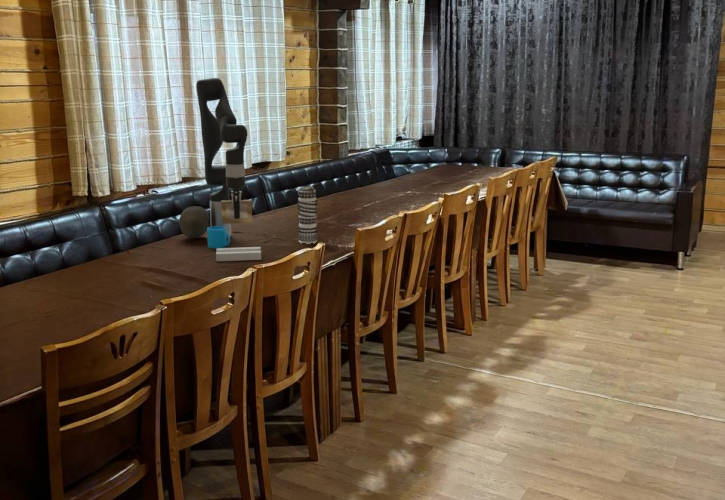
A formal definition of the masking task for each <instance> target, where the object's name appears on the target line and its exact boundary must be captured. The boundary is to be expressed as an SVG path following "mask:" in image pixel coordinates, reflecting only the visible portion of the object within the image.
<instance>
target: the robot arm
mask: <svg viewBox="0 0 725 500" xmlns="http://www.w3.org/2000/svg"><path fill="white" fill-rule="evenodd" d="M195 88H196V96H197V101H198V102H197V103H198V108H199V116H200V127H201V128H200V129H201V139H202V146H203V155H204V157H203V159H204V178H205V182H206V185H208V186H212V187H214V186H222V187H221V188H220V189H219V190H217V191H214V192H211V193H210V194H209V212H210V216H209V217H210V227H213V226H223V227H226V232H227V233H228V234H229V236H230V237H232V223H229V224H222V209H221V201H228V200H232V203H233V206H234V207H233V209H234V218H235V219H239V218H240V203H241V200H242V190H241V191H240V189H241V188H243V189H244V188H245V187H246V169H245V159H244V153H245V147H246V142H247V140H248V129H247V128H246V126H245V125H243V124H237V123H238V121H237V118H236V116H235V114H234V112H233V110H232V108H231V105H230V102H229V98H228V95H227V92H226V88H225V86H224V82H223V80H221V78H219V77H211V78H202V79H198V80H197V81H196V84H195ZM212 101H218V103H217V105H216V106H215V110H214V114H213V113H212V111H211V110H210V108H209V107H208V102H212ZM224 143H225V144H236V145H235V146H234V147H233V148H230V149H229V148H228V149H226V150H225V164H224V165H222V164H221V165H217V164H216V165H213V161H214V159H215V157H216V155H217V154H218V153H219V150H220V149H221V148H222V146H223V144H224ZM230 189H232V191H230ZM230 197H231V198H230ZM235 204H238V206H235ZM226 239H228V238H227V236H226Z"/></svg>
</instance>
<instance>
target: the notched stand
mask: <svg viewBox="0 0 725 500" xmlns="http://www.w3.org/2000/svg"><path fill="white" fill-rule="evenodd" d="M259 260H262V250H261V246H249V247H245V246H243V247H223V248H216V252H215V262H233V261H236V262H237V261H259Z"/></svg>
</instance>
